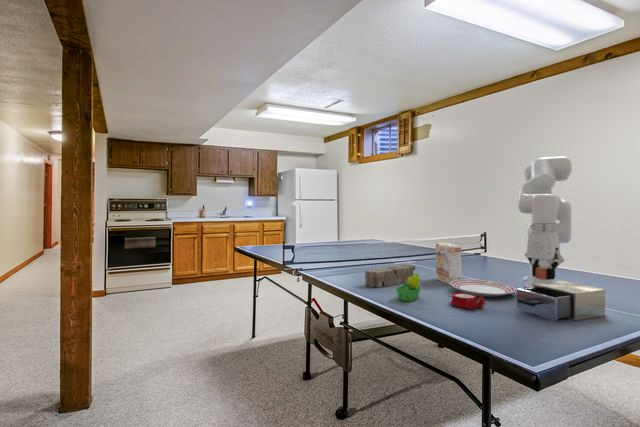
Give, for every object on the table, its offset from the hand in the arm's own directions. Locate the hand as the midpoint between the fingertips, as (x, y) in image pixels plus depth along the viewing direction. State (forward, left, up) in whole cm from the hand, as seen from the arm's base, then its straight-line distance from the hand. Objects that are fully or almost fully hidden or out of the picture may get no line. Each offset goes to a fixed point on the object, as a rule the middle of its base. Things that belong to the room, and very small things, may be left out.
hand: (543, 277), depth 133 cm
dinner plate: (-35, +5, -14) cm, 38 cm away
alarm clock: (-20, -17, -14) cm, 30 cm away
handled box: (0, 0, -13) cm, 13 cm away
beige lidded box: (0, +12, -14) cm, 19 cm away
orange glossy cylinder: (0, 0, 0) cm, 0 cm away
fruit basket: (-38, -32, -14) cm, 51 cm away
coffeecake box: (-59, +6, -14) cm, 61 cm away
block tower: (-68, -23, -14) cm, 73 cm away
